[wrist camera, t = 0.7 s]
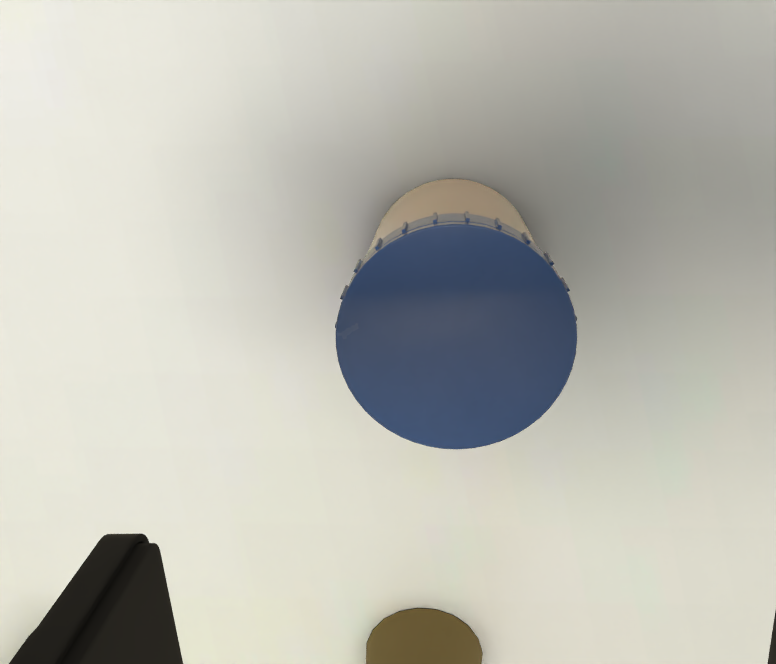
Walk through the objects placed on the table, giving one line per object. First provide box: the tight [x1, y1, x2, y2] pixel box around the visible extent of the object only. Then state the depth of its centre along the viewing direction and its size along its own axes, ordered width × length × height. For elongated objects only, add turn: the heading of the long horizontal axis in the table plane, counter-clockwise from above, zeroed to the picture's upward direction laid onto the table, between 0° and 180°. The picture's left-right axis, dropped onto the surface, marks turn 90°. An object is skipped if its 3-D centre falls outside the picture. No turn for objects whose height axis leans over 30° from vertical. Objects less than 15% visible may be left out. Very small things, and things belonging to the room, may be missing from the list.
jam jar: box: [367, 179, 535, 254], centre depth 25 cm, size 7×7×9 cm
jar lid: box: [335, 211, 577, 449], centre depth 21 cm, size 7×7×2 cm
